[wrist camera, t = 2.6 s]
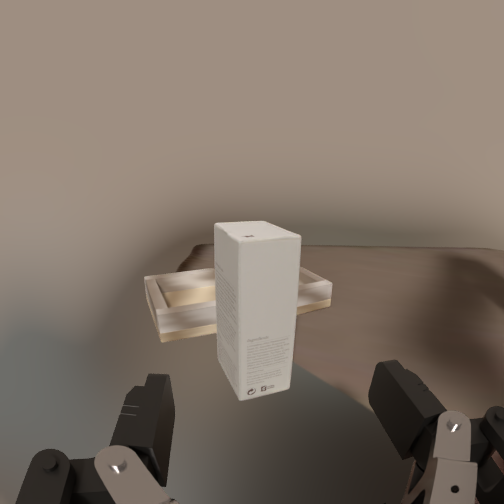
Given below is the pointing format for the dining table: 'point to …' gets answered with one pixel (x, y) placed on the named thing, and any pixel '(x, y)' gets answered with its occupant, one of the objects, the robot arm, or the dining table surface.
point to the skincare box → (256, 305)
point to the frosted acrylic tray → (211, 301)
